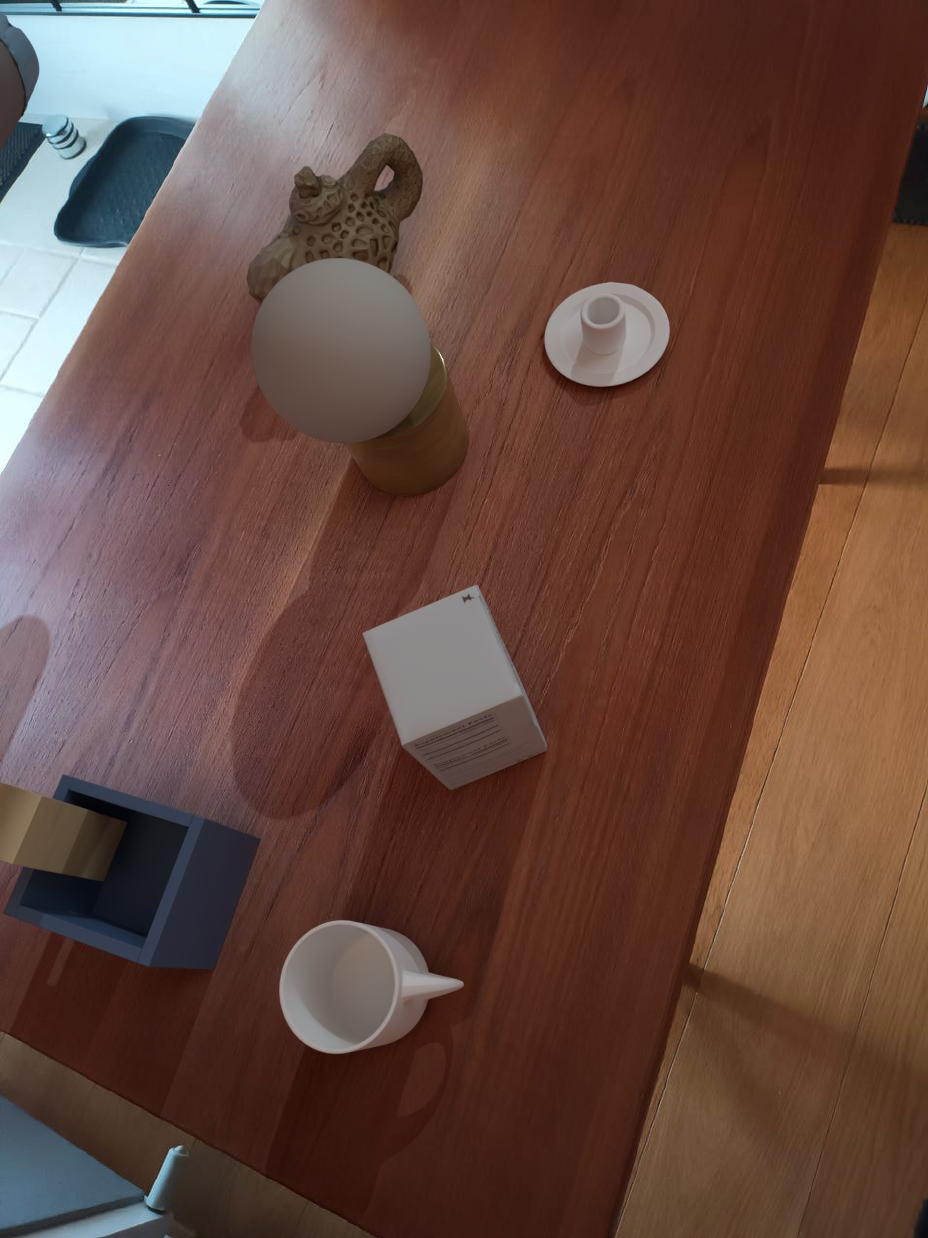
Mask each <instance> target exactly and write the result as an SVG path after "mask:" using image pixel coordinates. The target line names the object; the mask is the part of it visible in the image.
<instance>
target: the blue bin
mask: <svg viewBox="0 0 928 1238" xmlns="http://www.w3.org/2000/svg"><path fill="white" fill-rule="evenodd" d="M52 798H53V799H56V800H59V801H62V802H65V803H68V804H72V805H75V806H78V807H81V808H84V809H88V810H91V811H94V812H97V813H100V814H104V815H107V816H110V817H113V818H117V819H120V820H123V821H126V822H127V825H126V827H125V830H124V832H123V835H122V837H121V840H120V842H119V844H118V847H117V849H116V852H115V854H114V857H113V859H112V862H111V864H110V867H109V869H108V872H107V874H106V877H105V879H104V881H103V882H102V881H97V880H92V879H86V878H81V877H76V876H70V875H65V874H60V873H54V872H49V871H44V870H38V869H33V868H28V867H23V866H22V868H21V870H20V873H19V875H18V876H17V880H16V882H15V884H14V887H13V889H12V891H11V894H10V896H9V899H8V900H7V903H6V905H5V908H4V909H3V915H5V916H8V917H11V918H14V919H16V920H18V921H22V922H24V923H26V924H30V925H33V926H36V927H38V928H40V929H43V930H46V931H49V932H51V933H55V934H57V935H58V936H59V935H60V936H62V937H65V938H67V939H70V940H73V941H76V942H79V943H82V944H84V945H87V946H90V947H92V948H95V949H97V950H101V951H103V952H106V953H109V954H111V955H115V956H116V957H119V958H122V959H125V960H128V961H130V962H133V963H136V964H138V965H142V966H144V967H147V968H162V969H164V968H166V969H192V970H193V969H194V970H214V969H215V967H216V964H217V962H218V960H219V956H220V955H221V951H222V948H223V946H224V942H225V939H226V937H227V935H228V932H229V928H230V926H231V924H232V920H233V918H234V915H235V912H236V909H237V906H238V904H239V901H240V898H241V895H242V893H243V890H244V887H245V884H246V882H247V878H248V876H249V874H250V870H251V867H252V865H253V862H254V859H255V856H256V853H257V851H258V848H259V846H260V843H261V838H260V837H257V836H254V835H252V834H249V833H247V832H244V831H241V830H238V829H236V828H233V827H231V826H227V825H225V824H222V823H220V822H217V821H214V820H211V819H209V818H206V817H203V816H200V815H196V814H194V813H190V812H188V811H184V810H181V809H178V808H174V807H171V806H167V805H165V804H162V803H158V802H155V801H151V800H149V799H145V798H142V797H138V796H135V795H132V794H128V793H126V792H122V791H119V790H116V789H113V788H110V787H108V786H107V787H106V786H103V785H100V784H98V783H93V782H90V781H87V780H83V779H80V778H78V777H74V776H71V775H68V774H64V773H63V774H62V775H61V778H60V780H59V782H58V784H57V787H56V789H55V791H54V794H53V796H52Z"/></svg>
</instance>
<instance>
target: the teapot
mask: <svg viewBox="0 0 928 1238" xmlns="http://www.w3.org/2000/svg"><path fill="white" fill-rule="evenodd" d="M386 167H388V168H390V170H391V171H392V172H394V174H393V177H392V179H391V180H390V181H389V182H388V184H387V186H386V187H384V188H381V189H379V190H375V189H376V186H377V183H378V180H379V178H380V176H381V175H382V173H383V171H384V170H385V169H386ZM423 178H424V174H423V170H422V168H421V166H420V163H419V162H418V159H417V157H416V155H415V152H414V151H413V150H412V149H411V147H410V145H408V143H407V142H406V140H404V139H403V137H401V136H397V135H394V134H390V133H387V132H383V133H382V134H380V135H379V136H377V137H376V138H374V139H372V140H370V141H369V142H368V143H367V145H366V146H365V147H364V149H362V152H361V153H360V154H359V155H358V157H357V158H356V160H355V161H354V162H353V164H352V165H351V166H350V167H349V169H348V170H347V171H346V172H345V173H344V174H343V175H341V176H340V177H339V178H338V179H334V177H332V176H331V175H328V174H320V175H316V173H315V172H314V170H313V168H311V166H307V165H304V166H302V168H301V169H300V170H298V172H297V173H296V174H295V175H294V176H293V183H294V187H293V189H292V190H291V192H290V196H289V200H288V207H289V212H290V214H289V215H288V216H287V218H286V219H285V222H284V225H283V228H282V230H281V231H280V232H279V233H278V234H277V235H276V236H274V238H273V239H272V240H271V241H270V243H268V244H267V245H265V246H264V247H263V248H261V249H260V251H259V253H257V254H256V256H255V257H254V258H253V259H252V260H251V262H249V264H248V269H247V273H246V283H247V286H248V294H249V295H250V297H252V299H254V300H255V302H257V304H258V305H259V306H260V307H261V305H262V303H263V301H264V299H265V298H266V296H267V295H268V293H269V292H270V291H271V290H272V289H273V287H274V286H275V285H276V284H277V283H278V282H279V281H280V280H281V279H282V278H284V277H285V276H286V275H287V274H289V273H290V272H292V271H293V270H295V269H297V268H299V267H301V266H303V265H305V264H308V263H311V262H314V261H318V260H323V259H332V258H345V259H352V260H357V261H362V262H365V263H368V264H370V265H373V266H375V267H377V268H379V269H381V270H383V271H384V272H386V273H388V274H389V275H390V273H391V271H392V269H393V264H394V260H395V255H396V254H397V251H398V245H399V242H400V227H401V223H402V222H403V221H404V220H406V219H407V218H409V217H411V215H412V214H413V212H414V211H415V209H416V207H417V205H418V203H419V202H420V200H421V196H422V191H423V185H424V179H423Z"/></svg>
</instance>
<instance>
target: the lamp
mask: <svg viewBox="0 0 928 1238" xmlns="http://www.w3.org/2000/svg"><path fill="white" fill-rule="evenodd" d="M250 354H251V364H252V368H253V369H252V370H253V373H254V377H255V380H256V382H257V384H258V387H259V389H260V391H261V394H262V395H263V397H264V399H265V400H266V401H267V403H268V405H269V406H270V407H271V409H272V410H273V411H274V412H275V413H276V414H277V415H278V416H279V417H280V419H282V421H284V422H285V423H286V424H287V425H289V426H290V427H292V428H293V429H295V430H296V431H298V432H299V433H301V434H304V435H305V436H308V437H310V438H312V439H315V440H318V441H322V442H326V443H333V444H345V446H346V448H347V450H348V452H349V453H350V455H351V457H352V458H353V460H354V461H355V463H356V465H357V467H358V468H359V470H360V472H361V474H362V475H363V476H364V478H365V479H366V480H367V481H368V482H369V483H370V484H371V485H372V486H373V487H375V488H376V489H377V490H379V491H382V492H384V493H387V494H390V495H393V496H402V497H409V496H412V497H413V496H418V495H419V496H420V495H422V494H425V493H428V492H431V491H433V490H435V489H437V488H439V487H441V486H442V485H444V484H445V483H446V482H447V481H449V480H450V479H451V478H452V477H453V476H454V475H455V474H456V473H457V472H458V470H459V469H460V467H461V466H462V464H463V463H464V460H465V458H466V455H467V452H468V448H469V441H470V438H469V437H470V435H469V429H468V426H467V422H466V419H465V417H464V414H463V410H462V408H461V405H460V402H459V399H458V396H457V393H456V390H455V388H454V384H453V382H452V379H451V375H450V372H449V370H448V367H447V364H446V362H445V359H444V357H443V355H442V354H441V351H440V350H438V348H437V347H436V346H435V345H434V344H433V343H432V342H431V339H430V333H429V330H428V326H427V323H426V319H425V318H424V315H423V313H422V311H421V308H420V307H419V305H418V304H417V301H416V300H415V299H414V298H413V296H412V295H411V293H410V292H409V290H407V289H406V288H405V287H404V286H403V284H402V283H400V282H399V281H398V280H397V279H396V278H394V276H392V275H391V274H390V273H389V274H388V273H386V272H384V271H383V270H381V269H379V268H377V267H375V266H373V265H370V264H368V263H365V262H362V261H357V260H352V259H345V258H332V259H323V260H318V261H314V262H311V263H308V264H305V265H303V266H301V267H299V268H297V269H295V270H293V271H292V272H290V273H289V274H287V275H286V276H285V277H284V278H282V279H281V280H280V281H279V282H278V283H277V284H276V285H275V286H274V287H273V289H272V290H271V291H270V292H269V293H268V295H267V296H266V298H265V299H264V301H263V303H262V305H261V306H260V307H259V309H258V312H257V313H256V316H255V319H254V323H253V326H252V331H251V340H250Z"/></svg>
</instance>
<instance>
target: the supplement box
mask: <svg viewBox="0 0 928 1238" xmlns="http://www.w3.org/2000/svg"><path fill="white" fill-rule="evenodd" d="M361 635H362V638H363V641H364V643H365V647H366V649H367V652H368V654H369V657H370V660H371V662H372V665H373V668H374V672H375V674H376V678H377V680H378V682H379V684H380V688H381V691H382V694H383V696H384V699H385V702H386V704H387V707H388V710H389V713H390V716H391V719H392V722H393V725H394V727H395V729H396V730H395V731H396V733H397V736H398V739H399V741H400V745H401V747H402V748H403V749H404V750H405V751H406V752H407V753H408V754H410V756H412V757H413V758H414V759H415V760H416V761H417V762H419V764H421V765H422V766H423V767H424V768H425V769H426V770H427V771H428V772H430V774H431V775H433V776H434V777H435V778H436V779H437V780H438V781H439V783H442V784H443V785H444V786H445V788H447V789H448V790H450V791H452V790H455V789H458V788H460V787H463V786H465V785H468V784H470V783H473V782H475V781H478V780H480V779H482V778H485V777H487V776H490V775H492V774H494V773H497V772H499V771H501V770H504V769H506V768H508V767H511V766H513V765H516V764H518V763H521V762H523V761H526V760H528V759H531V758H533V757H535V756H538V755H540V754H543V753H545V752H547V750H548V744H547V742H546V738H545V735H544V733H543V731H542V729H541V725H540V723H539V721H538V719H537V717H536V713H535V711H534V709H533V706H532V704H531V701H530V698H528V695H527V692H526V689H525V687H524V685H523V682H522V679H520V678H521V677H520V676H519V674H518V671H517V669H516V666H515V664H514V663H513V661H512V657H511V656H510V653H509V652H508V649H507V648H506V647H507V646H506V645H505V643H504V641H503V638H502V636H501V634H500V631H499V630H498V626H497V625H496V623H495V619H494V617H493V615H492V613H491V610H490V608H489V606H488V604H487V601H486V599H485V597H484V596H483V593H482V591H481V589H480V587H479V585H478V584H475V585H472V586H469V587H467V588H465V589H462V590H460V591H458V592H456V593H453V594H450V595H447V596H446V597H443V598H441V599H439V600H436V601H435V602H432V603H430V604H427V605H425V606H422V607H420V608H418V609H415V610H413V611H410V612H408V613H406V614H403V615H401V616H398V617H395V618H394V619H392V620H389V621H387V622H384V623H382V624H379V625H378V626H375V627H373V628H371V629H368V630H366V631H364V632H362V633H361Z"/></svg>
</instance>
